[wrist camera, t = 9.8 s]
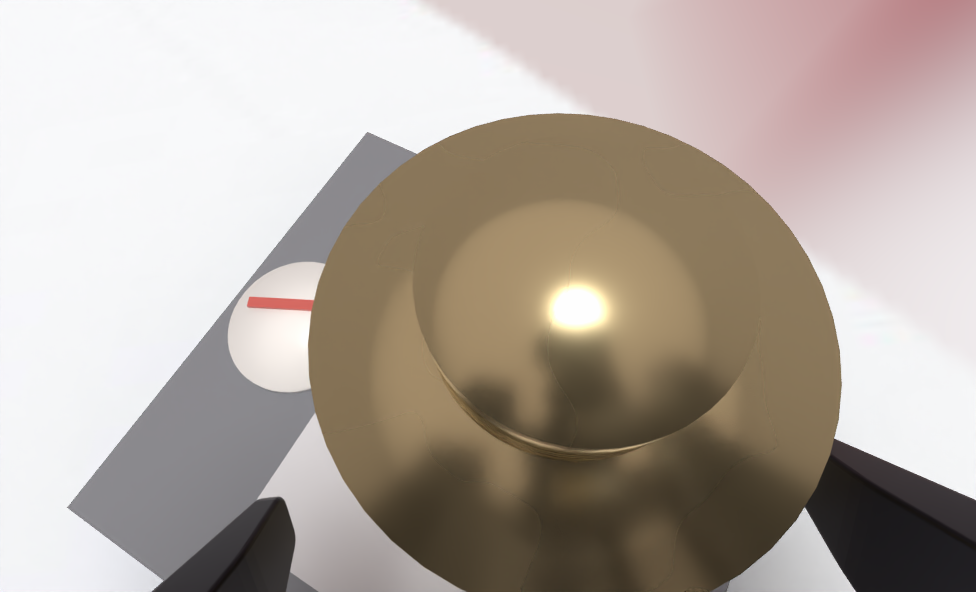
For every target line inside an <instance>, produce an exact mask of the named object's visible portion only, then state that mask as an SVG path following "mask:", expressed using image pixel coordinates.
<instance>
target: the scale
mask: <svg viewBox="0 0 976 592" xmlns="http://www.w3.org/2000/svg"><path fill="white" fill-rule="evenodd" d="M415 155H417V154H416V153H413V152H411V151H409V150H407V149H404V148H402V147H400V146H398V145H395V144H393V143H391V142H389V141H386V140H384V139H382V138H380V137H377V136H375V135H373V134H371V133H368V132H367V133H366V134H365V136H364V137H363V138H362V139H361V141H360V142H359V143H358V144H357V146H356V147H355V148H354V149H353V151H352V152H351V153H350V154H349V156H348V157H347V158H346V159H345V161H344V162H343V163H342V164H341V166H340V167H339V168H338V169H337V171H336V172H335V173H334V174H333V176H332V177H331V178H330V179H329V181H328V182H327V183H326V184H325V186H324V187H323V188H322V189H321V191H320V192H319V193H318V194H317V196H316V197H315V198H314V199H313V201H312V202H311V203H310V204H309V206H308V207H307V208H306V209H305V211H304V212H303V213H302V214H301V216H300V217H299V218H298V219H297V221H296V222H295V223H294V224H293V226H292V227H291V228H290V229H289V231H288V232H287V233H286V234H285V236H284V237H283V238H282V239H281V241H280V242H279V243H278V244H277V246H276V247H275V248H274V249H273V251H272V252H271V253H270V254H269V256H268V257H267V258H266V259H265V261H264V262H263V263H262V264H261V266H260V267H259V268H258V270H257V271H256V272H255V273H254V275H253V276H252V277H251V278H250V280H249V281H248V282H247V283H246V285H245V286H244V287H243V288H242V290H241V291H240V292H239V293H238V295H237V296H236V297H235V298H234V300H233V301H232V302H231V303H230V305H229V306H228V307H227V308H226V310H225V311H224V312H223V313H222V315H221V316H220V317H219V318H218V320H217V321H216V322H215V323H214V325H213V326H212V327H211V328H210V330H209V331H208V332H207V333H206V335H205V336H204V337H203V338H202V340H201V341H200V342H199V343H198V345H197V346H196V347H195V348H194V350H193V351H192V352H191V353H190V355H189V356H188V357H187V358H186V360H185V361H184V362H183V363H182V365H181V366H180V367H179V368H178V370H177V371H176V372H175V373H174V375H173V376H172V377H171V378H170V380H169V381H168V382H167V383H166V385H165V386H164V387H163V388H162V390H161V391H160V392H159V393H158V395H157V396H156V397H155V398H154V400H153V401H152V402H151V403H150V405H149V406H148V407H147V408H146V410H145V411H144V412H143V413H142V415H141V416H140V417H139V418H138V420H137V421H136V422H135V423H134V425H133V426H132V427H131V428H130V430H129V431H128V432H127V433H126V435H125V436H124V437H123V438H122V440H121V441H120V442H119V443H118V445H117V446H116V447H115V448H114V450H113V451H112V452H111V453H110V455H109V456H108V457H107V458H106V460H105V461H104V462H103V464H102V465H101V466H100V467H99V469H98V470H97V471H96V472H95V474H94V475H93V476H92V477H91V479H90V480H89V481H88V482H87V484H86V485H85V486H84V487H83V489H82V490H81V491H80V492H79V494H78V495H77V496H76V497H75V499H74V500H73V501H72V502H71V504H70V505H69V506H68V507H67V508H68V509H70V510H71V511H72V512H74V513H75V514H76V515H78V516H79V517H80V518H82V519H83V520H84V521H86V522H87V523H88V524H90V525H91V526H92V527H94V528H95V529H96V530H98V531H99V532H100V533H102V534H103V535H104V536H106V537H107V538H108V539H110V540H111V541H112V542H114V543H115V544H116V545H118V546H119V547H120V548H121V549H123V550H124V551H125V552H127V553H128V554H129V555H131V556H132V557H133V558H135V559H136V560H137V561H139V562H140V563H141V564H143V565H144V566H145V567H147V568H148V569H149V570H151V571H152V572H153V573H155V574H156V575H157V576H159V577H160V578H161V579H163V580H166V579H167V578H168V577H169V576H170V575H171V574H172V573H173V572H175V571H176V570H177V569H178V568H179V567H180V566H181V565H183V564H184V563H185V562H186V561H187V560H188V559H189V558H191V557H192V556H193V555H194V554H195V553H196V552H197V551H199V550H200V549H201V548H202V547H203V546H204V545H205V544H207V543H208V542H209V541H210V540H211V539H212V538H213V537H215V536H216V535H217V534H218V533H219V532H220V531H221V530H223V529H224V528H225V527H226V526H227V525H228V524H229V523H230V522H232V521H233V520H234V519H235V518H236V517H237V516H238V515H240V514H241V513H242V512H243V511H244V510H245V509H246V508H248V507H249V506H250V505H251V504H252V503H253V502H255V501H256V500H258V499H261V498H269V497H277V496H279V497H282V498H283V499H284V500H285V502H286V505H287V508H288V511H289V514H290V517H291V521H292V524H293V527H294V530H295V537H296V541H295V549H294V554H293V559H292V564H291V569H290V574H289V579H288V584H287V589H286V592H466V591H464V590H462V589H459V588H457V587H456V586H454V585H453V584H451V583H449V582H448V581H446V580H444V579H443V578H441V577H439V576H438V575H436V574H434V573H433V572H431V571H429V570H428V569H426V568H424V567H423V566H422V565H420V564H419V563H418V562H417V561H416V560H414V559H413V558H412V557H411V556H409V555H408V554H407V553H406V552H405V551H403V550H402V549H401V548H400V547H399V546H397V545H396V544H395V543H394V542H392V541H391V540H390V539H389V537H388V536H387V535H386V534H385V533H384V532H383V531H382V530H381V529H380V528H379V527H378V525H377V524H376V523H375V522H374V521H373V520H372V519H371V518H370V517H369V516H368V515H367V513H366V512H365V511H364V510H363V508H362V507H361V505H360V504H359V502H358V501H357V499H356V498H355V497H354V495H353V494H352V492H351V491H350V489H349V488H348V486H347V485H346V483H345V482H344V480H343V479H342V477H341V475H340V473H339V471H338V469H337V467H336V465H335V463H334V461H333V459H332V456H331V454H330V452H329V450H328V448H327V446H326V443H325V440H324V437H323V434H322V431H321V428H320V425H319V422H318V419H317V416H316V413H315V408H314V403H313V397H312V391H311V386H310V380H309V362H308V338H309V328H310V318H311V311H312V306H313V302H314V298H315V294H316V290H317V285H318V282H319V279H320V276H321V274H322V271H323V269H324V266H325V263H326V261H327V258H328V256H329V253H330V251H331V250H332V248H333V246H334V244H335V242H336V240H337V239H338V237H339V235H340V233H341V231H342V229H343V228H344V226H345V225H346V223H347V222H348V221H349V219H350V218H351V216H352V215H353V214H354V212H355V211H356V210H357V208H358V207H359V205H360V204H361V203H362V202H363V201H364V200H365V199H366V198H367V196H368V195H369V194H370V193H371V192H372V191H373V190H374V189H375V188H376V187H377V186H378V185H379V183H381V182H382V181H383V180H384V179H385V178H386V177H388V176H389V175H390V174H391V173H392V172H394V171H395V170H396V169H397V168H398V167H399V166H401V165H402V164H403V163H405V162H406V161H408V160H409V159H411V158H412V157H414V156H415ZM728 585H729V581H728V582H726V583H724V584H723V585H721V586H719V587H718V588H716V589H714V590H712V591H711V592H726V591H727V588H728Z"/></svg>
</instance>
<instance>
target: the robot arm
mask: <svg viewBox="0 0 976 592" xmlns="http://www.w3.org/2000/svg"><path fill="white" fill-rule="evenodd" d="M805 508H806V510H807V511H808V513H809V515H810V517H811V518H812V520H813V522H814V524H815V525H816V527H817V529H818V531H819V532H820V534H821V536H822V538H823V539H824V541H825V543H826V545H827V546H828V548H829V550H830V552H831V553H832V555H833V557H834V558H835V560H836V562H837V563H838V565H839V567H840V568H841V570H842V571H843V573H844V574H845V576H846V577H847V579H848V580H849V582H850V583H851V585H852V586H853V588H854V589H855V591H856V592H976V500H974V499H972V498H970V497H967V496H965V495H963V494H960V493H958V492H956V491H953V490H951V489H949V488H947V487H944V486H942V485H940V484H937V483H935V482H933V481H930V480H928V479H926V478H924V477H921V476H919V475H917V474H914V473H912V472H910V471H907V470H905V469H903V468H900V467H898V466H896V465H894V464H891V463H889V462H887V461H884V460H882V459H880V458H877V457H875V456H873V455H871V454H868V453H866V452H864V451H861V450H859V449H857V448H854V447H852V446H850V445H848V444H845V443H843V442H841V441H838V440H836V439H834V441H833V445H832V449H831V453H830V456H829V458H828V461H827V463H826V465H825V468H824V470H823V473H822V475H821V477H820V480H819V482H818V485H817V487H816V489H815V491H814V492H813V494H812V496H811V497H810V499H809V500H808V502H807V504H806V505H805ZM295 541H296V537H295V530H294V527H293V524H292V521H291V517H290V514H289V511H288V508H287V505H286V502H285V500H284V499H283V498H282V497H279V496H277V497H269V498H261V499H258V500H256V501H255V502H253V503H252V504H251V505H250V506H249V507H248V508H246V509H245V510H244V511H243V512H242V513H241V514H240V515H238V516H237V517H236V518H235V519H234V520H233V521H232V522H230V523H229V524H228V525H227V526H226V527H225V528H224V529H223V530H221V531H220V532H219V533H218V534H217V535H216V536H215V537H213V538H212V539H211V540H210V541H209V542H208V543H207V544H205V545H204V546H203V547H202V548H201V549H200V550H199V551H197V552H196V553H195V554H194V555H193V556H192V557H191V558H189V559H188V560H187V561H186V562H185V563H184V564H183V565H181V566H180V567H179V568H178V569H177V570H176V571H175V572H173V573H172V574H171V575H170V576H169V577H168V578H167V579H166V580H164V581H163V582H162V583H161V584H160V585H159V586H158V587H156V588H155V589H154V590H153V591H152V592H286V589H287V584H288V579H289V574H290V569H291V564H292V559H293V554H294V549H295Z"/></svg>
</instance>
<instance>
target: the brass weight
mask: <svg viewBox="0 0 976 592" xmlns="http://www.w3.org/2000/svg"><path fill="white" fill-rule="evenodd" d="M308 362H309V380H310V386H311V391H312V397H313V403H314V408H315V413H316V416H317V419H318V422H319V425H320V428H321V431H322V434H323V437H324V440H325V443H326V446H327V448H328V450H329V452H330V454H331V456H332V459H333V461H334V463H335V465H336V467H337V469H338V471H339V473H340V475H341V477H342V479H343V480H344V482H345V483H346V485H347V486H348V488H349V489H350V491H351V492H352V494H353V495H354V497H355V498H356V499H357V501H358V502H359V504H360V505H361V507H362V508H363V510H364V511H365V512H366V513H367V515H368V516H369V517H370V518H371V519H372V520H373V521H374V522H375V523H376V524H377V525H378V527H379V528H380V529H381V530H382V531H383V532H384V533H385V534H386V535H387V536H388V537H389V539H390V540H391V541H392V542H394V543H395V544H396V545H397V546H399V547H400V548H401V549H402V550H403V551H405V552H406V553H407V554H408V555H409V556H411V557H412V558H413V559H414V560H416V561H417V562H418V563H419V564H420V565H422V566H423V567H424V568H426V569H428V570H429V571H431V572H433V573H434V574H436V575H438V576H439V577H441V578H443V579H444V580H446V581H448V582H449V583H451V584H453V585H454V586H456V587H457V588H459V589H462V590H464V591H466V592H711V591H712V590H714V589H716V588H718V587H719V586H721V585H723V584H724V583H726V582H728V581H730V580H731V579H733V578H735V577H736V576H738V575H740V574H741V573H743V572H744V571H745V570H746V569H747V568H749V567H750V566H751V565H752V564H753V563H755V562H756V561H757V560H758V559H759V558H761V557H762V556H763V555H764V554H766V553H767V552H768V551H769V550H770V549H771V548H772V547H773V546H774V545H775V544H776V543H777V542H778V540H779V539H780V538H781V537H782V536H783V535H784V534H785V532H786V531H787V530H788V529H789V528H790V527H791V526H792V524H793V523H794V522H795V521H796V520H797V518H798V516H799V515H800V513H801V512H802V510H803V508H804V507H805V505H806V504H807V502H808V500H809V499H810V497H811V496H812V494H813V492H814V491H815V489H816V487H817V485H818V482H819V480H820V477H821V475H822V473H823V470H824V468H825V465H826V463H827V461H828V458H829V456H830V453H831V449H832V445H833V441H834V436H835V432H836V428H837V424H838V420H839V409H840V398H841V386H842V382H841V365H840V350H839V345H838V340H837V334H836V329H835V324H834V319H833V316H832V313H831V310H830V307H829V304H828V301H827V298H826V295H825V292H824V289H823V286H822V284H821V282H820V280H819V278H818V276H817V274H816V272H815V270H814V268H813V266H812V264H811V262H810V260H809V258H808V256H807V254H806V253H805V251H804V250H803V248H802V247H801V245H800V244H799V242H798V240H797V239H796V237H795V236H794V234H793V233H792V231H791V230H790V229H789V227H788V226H787V225H786V224H785V222H784V221H783V220H782V219H781V218H780V216H779V215H778V214H777V213H776V212H775V210H774V209H773V208H772V207H771V206H770V205H769V204H768V203H767V202H766V201H765V200H764V199H763V198H762V197H761V196H760V195H759V194H758V193H757V192H756V191H755V190H754V189H753V188H752V187H751V186H750V185H749V184H748V183H746V182H745V181H744V180H742V179H741V178H740V177H738V176H737V175H736V174H734V173H733V172H732V171H731V170H729V169H728V168H727V167H726V166H724V165H723V164H721V163H719V162H718V161H716V160H715V159H713V158H711V157H710V156H708V155H707V154H705V153H703V152H702V151H700V150H698V149H696V148H694V147H692V146H690V145H688V144H686V143H684V142H682V141H680V140H678V139H676V138H674V137H672V136H669V135H667V134H664V133H661V132H658V131H656V130H653V129H650V128H647V127H645V126H641V125H637V124H633V123H629V122H625V121H621V120H617V119H612V118H605V117H599V116H592V115H582V114H562V113H556V114H537V115H526V116H520V117H514V118H507V119H502V120H498V121H494V122H490V123H487V124H483V125H479V126H475V127H473V128H470V129H468V130H465V131H462V132H460V133H457V134H455V135H452V136H449V137H447V138H446V139H444V140H442V141H440V142H438V143H436V144H434V145H432V146H430V147H428V148H426V149H424V150H423V151H421V152H420V153H418V154H417V155H415V156H414V157H412V158H411V159H409V160H408V161H406V162H405V163H403V164H402V165H401V166H399V167H398V168H397V169H396V170H395V171H394V172H392V173H391V174H390V175H389V176H388V177H386V178H385V179H384V180H383V181H382V182H381V183H379V185H378V186H377V187H376V188H375V189H374V190H373V191H372V192H371V193H370V194H369V195H368V196H367V198H366V199H365V200H364V201H363V202H362V203H361V204H360V205H359V207H358V208H357V210H356V211H355V212H354V214H353V215H352V216H351V218H350V219H349V221H348V222H347V223H346V225H345V226H344V228H343V229H342V231H341V233H340V235H339V237H338V239H337V240H336V242H335V244H334V246H333V248H332V250H331V251H330V253H329V256H328V258H327V261H326V263H325V266H324V269H323V271H322V274H321V276H320V279H319V282H318V285H317V290H316V294H315V298H314V302H313V306H312V311H311V318H310V328H309V338H308Z"/></svg>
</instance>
